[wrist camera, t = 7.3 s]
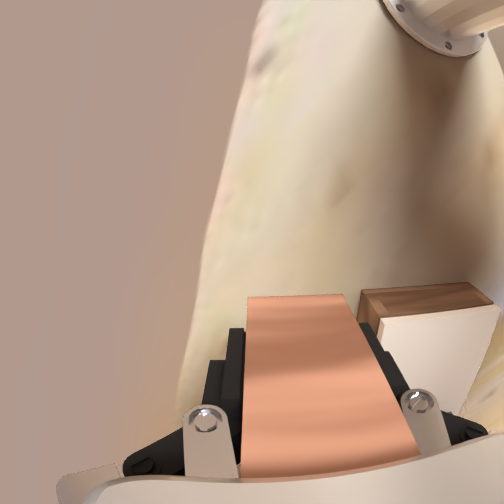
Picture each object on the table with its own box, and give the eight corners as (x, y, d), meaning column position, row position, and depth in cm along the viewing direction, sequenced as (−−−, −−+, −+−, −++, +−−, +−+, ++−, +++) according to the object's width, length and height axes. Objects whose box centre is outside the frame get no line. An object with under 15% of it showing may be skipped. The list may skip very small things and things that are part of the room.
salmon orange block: (247, 296, 13) (237, 542, 4) (342, 293, 13) (442, 507, 4) (250, 370, 15) (245, 575, 5) (332, 366, 14) (385, 558, 5)
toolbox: (361, 289, 28) (379, 316, 24) (468, 282, 28) (493, 302, 24) (338, 418, 34) (346, 448, 30) (428, 403, 34) (442, 428, 29)
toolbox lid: (380, 318, 23) (395, 342, 20) (495, 304, 23) (515, 321, 20) (347, 450, 29) (352, 474, 26) (443, 430, 29) (453, 449, 26)
